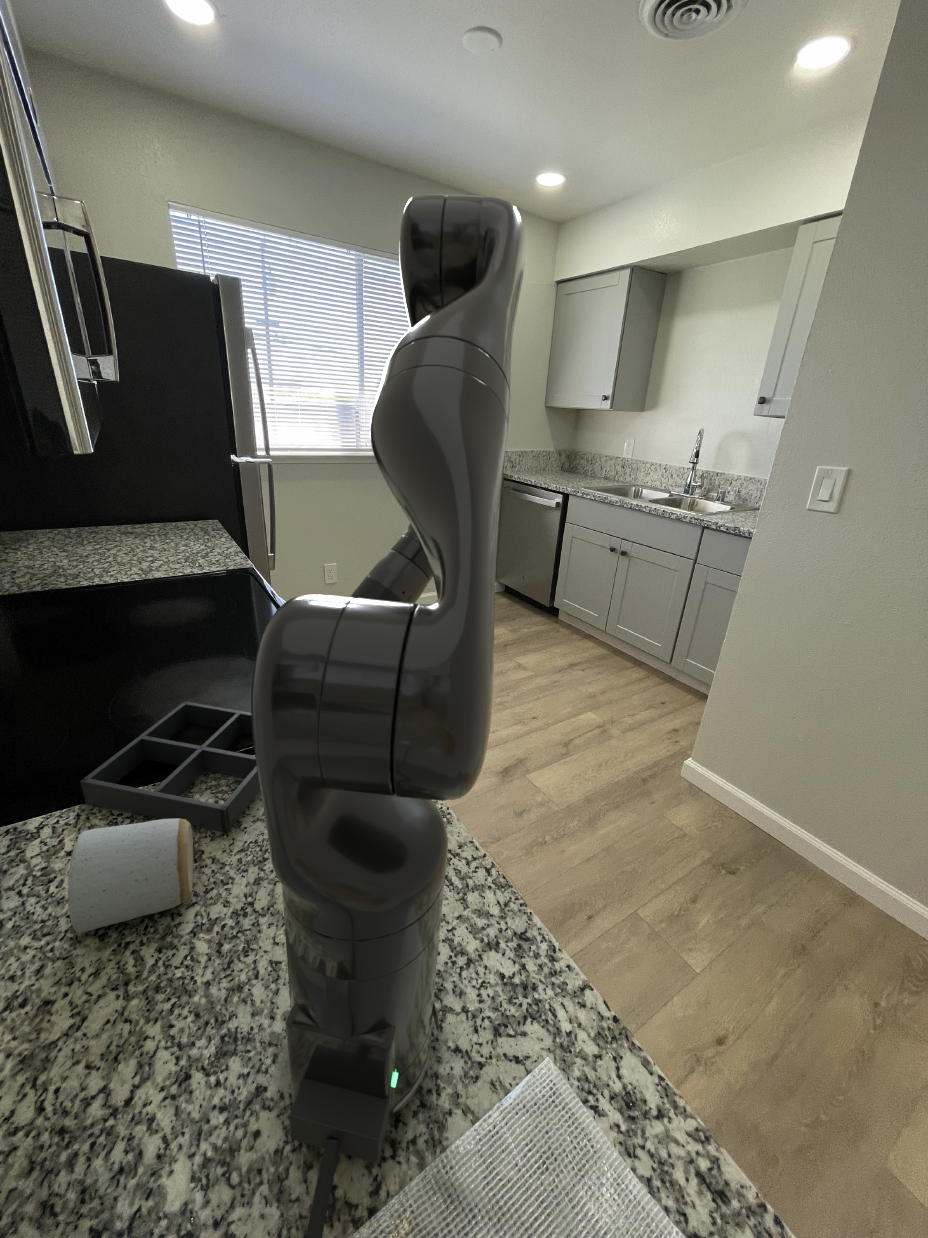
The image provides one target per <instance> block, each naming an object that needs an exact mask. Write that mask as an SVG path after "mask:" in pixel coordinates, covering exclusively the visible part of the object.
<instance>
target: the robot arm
mask: <svg viewBox="0 0 928 1238" xmlns="http://www.w3.org/2000/svg"><path fill="white" fill-rule="evenodd" d="M399 227H400V228H399V243H398V255H399V256H398V257H399V258H398V259H399V272H400V281H401V288H402V294H403V300H404V305H405V309H406V315H407V319H408V324H409V328H410V329H408V330H407V332H406V333H404V335H403V336H402V337H401V338H400V339H399V340H398V342H397V343H396V344H395V346H394V347H393V349H392V350H391V352H390V355H389V357H388V359H387V361H386V363H385V366H384V369H383V373H382V377H381V381H380V384H379V387H378V389H377V394H376V397H375V400H374V404H373V408H372V413H371V415H370V422H369V440H370V445H371V450H372V453H373V457H374V460H375V462H376V465H377V467H378V470H379V472H380V473H381V476H382V477H383V480H384V481H385V483H386V485H387V487H388V489H389V490H390V494H392V496H393V498H394V499H395V501H396V502H397V504H398V506H399V507H400V509H401V511H402V512H403V513H404V516H405V517H406V518H407V520H408V521H409V525H408V526H407V528H406V530H405V531H404V532H403V534H402V535H401V536H400V537H399V539H398V540H397V541H396V542H395V543H394V545H393V546H392V547H391V548H390V550H389V551H388V552H387V553H386V554H385V555H384V556H383V557H382V558H381V559H379V560H378V562H377V563H376V564H375V565H374V566H373V568H372V569H371V570H370V572H369V573H368V574H367V575H366V576H365V578H364V579H363V580H362V581H361V582H360V583H359V584H358V586H357V587H356V589H355V590H354V591H353V592H352V594H351V595H350V596H348V595H347V596H346V595H334V594H321V593H309V594H300V595H297V596H294V597H292V598H290V599H288V600H287V601H285V602H284V603H283V604H282V605H280V606H279V607H278V608H277V610H276V611H275V612H274V614H273V615H272V616H271V618H270V619H269V620H268V623H267V624H266V626H265V628H264V631H263V634H262V635H261V636H262V637H261V639H260V642H259V645H258V647H257V649H256V650H257V651H256V654H255V658H254V659H255V660H254V666H253V673H252V681H251V690H250V691H251V692H250V713H251V718H252V734H251V735H252V744H253V745H252V746H253V751H254V756H255V760H256V767H257V772H258V778H259V784H260V795H261V800H262V806H263V807H262V808H263V812H264V819H265V825H266V832H267V841H268V847H269V854H270V860H271V861H270V862H271V865H272V869H273V871H274V874H275V876H276V878H277V880H278V881H279V883H280V885H281V892H282V904H283V918H284V919H283V920H284V936H285V948H286V950H285V951H286V963H287V973H288V974H287V976H288V992H289V1003H290V1004H289V1005H290V1011H289V1013H288V1015H287V1018H286V1022H285V1030H286V1042H287V1054H288V1056H287V1057H288V1067H289V1079H290V1091H291V1104H292V1107H291V1109H290V1111H289V1115H288V1119H289V1127H290V1128H289V1131H290V1139H291V1140H292V1141H296V1142H299V1143H303V1144H306V1145H308V1146H309V1145H310V1146H312V1147H313V1146H314V1147H317V1148H321V1149H323V1153H322V1157H321V1162H320V1168H319V1171H318V1176H317V1181H316V1186H315V1190H314V1193H313V1194H314V1195H313V1199H312V1203H311V1208H310V1212H309V1218H308V1223H307V1228H306V1234H305V1238H323V1236H324V1235H323V1234H324V1230H325V1224H326V1220H327V1213H328V1209H329V1203H330V1198H331V1194H332V1189H333V1183H334V1179H335V1174H336V1169H337V1164H338V1159H339V1154H342V1155H346V1156H349V1157H354V1158H356V1159H361V1160H364V1161H368V1162H371V1163H375V1164H379V1161H380V1159H381V1154H382V1149H383V1145H384V1141H385V1139H386V1138H387V1137H388V1135H389V1133H390V1128H391V1124H392V1121H393V1118H394V1117H395V1116H396V1115H398V1114H399V1113H400V1112H401V1111H402V1110H403V1109H404V1108H405V1107H406V1106H407V1105H408V1104H409V1103H410V1101H412V1099H413V1097H414V1096H415V1094H416V1093H417V1092H418V1090H419V1088H420V1086H421V1084H422V1082H423V1079H424V1077H425V1075H426V1072H427V1069H428V1066H429V1062H430V1056H431V1049H432V1048H431V1047H432V1023H433V1022H434V1026H435V1029H436V1031H438V1023H439V1017H438V1015H437V1009H436V1005H435V1001H434V1000H435V987H436V978H437V977H436V976H437V968H438V967H437V966H438V955H439V944H440V933H441V925H442V924H441V923H442V913H443V903H444V894H445V893H444V892H445V882H446V874H447V866H448V865H447V864H448V855H449V838H448V831H447V827H446V822H445V820H444V818H443V814H442V813H441V812H440V810H439V808H438V807H437V806H436V804H435V802H434V801H456V800H460V799H461V798H463V797H465V796H467V794H469V793H470V792H471V790H473V788H474V787H475V785H476V783H477V781H478V779H479V777H480V774H481V772H482V770H483V765H484V763H485V759H486V756H487V751H488V744H489V738H490V734H491V733H490V732H491V724H492V713H493V698H494V678H495V677H494V676H495V675H494V672H495V624H496V623H495V617H496V616H495V612H496V611H495V610H496V553H497V552H496V551H497V548H496V547H497V528H498V527H497V526H498V517H499V516H498V515H499V514H498V513H499V505H500V495H501V488H502V483H503V481H502V480H503V474H504V467H505V458H506V451H507V450H506V449H507V443H508V433H509V423H510V407H511V391H512V389H511V387H512V353H513V337H514V336H513V335H514V330H515V325H516V320H517V313H518V307H519V301H520V297H521V292H522V286H523V279H524V271H525V265H526V263H525V262H526V234H525V227H524V222H523V219H522V216H521V213H520V212H519V209H518V208H517V206H515V204H513V203H512V202H511V201H509V200H507V199H505V198H501V197H498V196H493V195H491V196H490V195H486V196H484V195H470V194H469V195H468V194H448V195H447V194H444V193H442V194H441V193H440V194H439V193H427V194H426V193H425V194H417V195H414V196H412V197H410V198H409V199H408V201H407V203H406V205H405V207H404V209H403V212H402V216H401V222H400V226H399ZM432 579H433V581H434V586H435V590H436V596H437V600H436V601H435V602H434V603H431V604H427V603H419V604H418V603H417V601H419V599H420V598H421V596H422V595H423V593H424V591H425V589H426V587H427V586H428V584H429V583H430V582H431V580H432ZM433 1020H434V1021H433Z"/></svg>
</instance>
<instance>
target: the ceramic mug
mask: <svg viewBox="0 0 928 1238" xmlns="http://www.w3.org/2000/svg"><path fill="white" fill-rule="evenodd" d="M193 843H194V842H193V830H192V825H190V823H189V822H188V821H187V820H185V819H155V820H148V821H143V822H137V823H130V824H129V823H128V824H121V825H115V826H114V825H113V826H106V827H99V828H91V829H87V830H83V831H82V832H81V833H80V834H79V836H78V837H77V838H76V842H75V843H74V846H73V850H72V854H71V858H70V862H69V867H68V875H67V904H68V905H67V906H68V908H67V909H68V914H69V919H70V924H71V927H72V928H73V930H74V931H75V932H76V933H78V934H79V933H80V934H81V933H86V932H87V933H88V932H90V931H93V930H96V929H97V930H98V929H100V928H104V927H108V926H111V925H116V924H118V923H123V922H126V921H130V920H132V919H136V918H140V917H144V916H147V915H152V914H157V913H160V912H163V911H167V910H170V909H173V908H175V907H177V906H180V905H181V904H184V903H185V902H186V901H187V900H188V899H189V898H190V897H191V895H192V892H193V886H194V884H193V883H194V844H193Z"/></svg>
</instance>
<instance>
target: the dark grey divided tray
mask: <svg viewBox="0 0 928 1238" xmlns="http://www.w3.org/2000/svg"><path fill="white" fill-rule="evenodd" d="M188 724H190V725H197V726H201V727H208V728H213V729H217V731H215V732H214V734H212V735H211V736H210V737H209V738H208V739H207V740H206V741H205V742H204V743H203V744H201V745H197V744H191V743H186V742H181V741H177V740H176V741H175V740H170V739H171V738H173V737H174V736H175V735H176V734H177V733H179V732H180V731H181V730H182V729H183V728H185V727H186V726H187V725H188ZM242 734H246V735H247V734H248V735H252V718H251V712H247V711H242V710H236V709H231V708H224V707H218V706H212V705H208V704H201V703H196V702H190V701H185V700H184V701H183V702H182V703H180V704H179V705H178V706H177V707H175V708H174V709H172V710H171V711H170V712H169V713H167V714H166V715H164V716H163V717H162V718H161V719H159V720H158V721H156V723H154V724H152V726H150V727H149V728H147V729H146V730H145V731H144V732H142V733H141V734H140V735H139V736H138V737H136V738H135V739H134V740H132V741H131V742H130V743H128V744H127V745H125V747H123V748H122V749H120V750H119V751H118V752H116V753H115V754H114V755H113V756H111V757H109V758H108V759H107V760H106V761H105V762H103V763H102V764H101V765H99V766H98V767H96V769H94V770H93V771H92V772H91V773H89V774H88V775H87V776H85V777H83V778H82V779H81V780H80V781H79V783H80V787H81V790H82V794H83V799H84V802H85V804H86V805H90V806H96V807H99V808H106V809H110V810H114V811H120V812H124V813H131V814H134V815H138V816H139V815H140V816H144V817H150V818H154V819H157V820H160V819H185V820H187V821H188V822H189V823H190V825H191V826H192V827H193V826H194V827H199V828H203V829H208V830H212V831H218V832H223V833H228V832H229V831H230V830H231V829H232V828H233V826H234V825H235V824H236V823H237V821H238V820H239V818H240V817H241V816H242V815H243V813H245V811H246V810H247V809H248V807H249V806H250V805H251V803H252V802H253V801H254V800H255V798H256V797H257V795H258V794H259V793H261V790H260V784H259V778H258V772H257V767H256V760H255V755H251V754H246V753H241V752H235V751H230V750H227V749H228V748H229V747H230V746H231V745H232V744H233V743H234V742H235V741H236V740H237V739H238V738H239V737H240V736H241V735H242ZM145 760H146V761H152V762H157V763H162V764H163V763H164V764H168V765H173V766H178V767H177V768H176V769H174V771H172V772H171V773H170V774H169V775H168V776H167V777H166V778H165V779H164V780H163V781H162V782H161V783H159V785H157V786H156V787H155V788H154V789H153V790H148V789H143V788H138V787H133V786H128V785H122V784H117V783H119V782H120V781H121V780H122V779H124V778H125V777H126V776H127V775H129V773H131V772H132V771H133V770H134V769H135V768H136V767H138V766H139V765H141V764H142V763H143V762H144V761H145ZM205 771H206V772H209V773H210V772H211V773H216V774H221V775H226V776H233V777H236V778H243V780H242V781H241V783H240V784H239V785H238V786H237V787H236V788H235V790H233V792H232V793H231V794H230V796H229V797H228V798H227V799H226V800H225V801H224V802H223V804H219V803H214V802H209V801H204V800H198V799H194V798H190V797H185V796H184V797H183V796H181V795H183V794H184V792H186V791H187V790H188V789H189V788H190V786H191V785H193V784H194V783H195V781H197V779H198V778H199V777H200V776H201V775H202V774H203V773H204V772H205Z"/></svg>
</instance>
